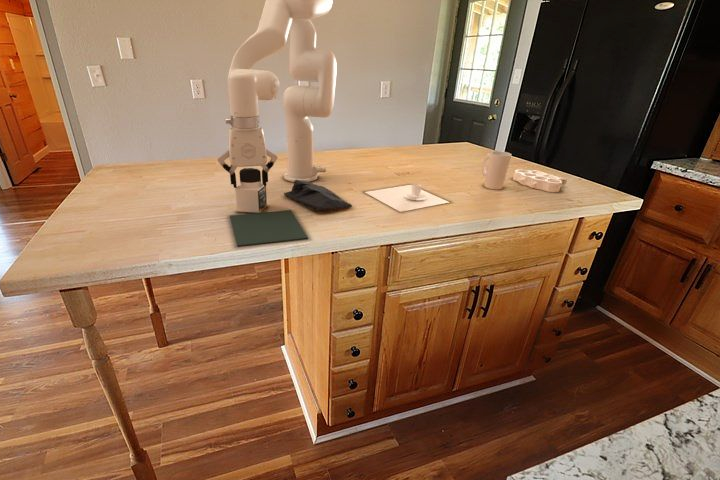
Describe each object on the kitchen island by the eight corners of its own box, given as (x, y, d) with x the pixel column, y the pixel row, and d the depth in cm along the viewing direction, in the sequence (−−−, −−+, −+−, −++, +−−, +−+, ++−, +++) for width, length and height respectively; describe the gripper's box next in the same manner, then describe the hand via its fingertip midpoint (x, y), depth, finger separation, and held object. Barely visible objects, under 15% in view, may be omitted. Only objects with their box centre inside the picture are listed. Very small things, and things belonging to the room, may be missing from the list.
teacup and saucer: (411, 203, 125) (413, 191, 123) (396, 195, 131) (397, 183, 129) (432, 199, 129) (434, 187, 127) (416, 192, 135) (418, 180, 133)
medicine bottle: (259, 213, 114) (257, 172, 109) (236, 211, 116) (233, 170, 110) (267, 206, 121) (265, 167, 115) (245, 204, 122) (242, 165, 117)
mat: (290, 211, 118) (290, 209, 118) (307, 238, 101) (307, 237, 101) (230, 216, 113) (229, 215, 113) (237, 246, 97) (237, 245, 96)
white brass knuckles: (573, 188, 141) (546, 194, 135) (530, 175, 155) (504, 179, 149) (576, 179, 140) (549, 184, 134) (532, 167, 154) (506, 171, 148)
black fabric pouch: (312, 217, 114) (312, 201, 111) (281, 194, 130) (280, 180, 128) (356, 208, 120) (357, 193, 118) (321, 188, 137) (321, 174, 135)
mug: (507, 188, 140) (516, 154, 134) (493, 190, 138) (502, 156, 132) (485, 180, 148) (493, 148, 142) (472, 182, 146) (479, 150, 140)
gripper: (213, 126, 101) (220, 191, 109) (279, 124, 105) (281, 187, 113) (211, 121, 107) (218, 183, 115) (274, 119, 111) (276, 180, 120)
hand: (249, 185), depth 114 cm, fingers closed on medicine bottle, 8 cm apart
